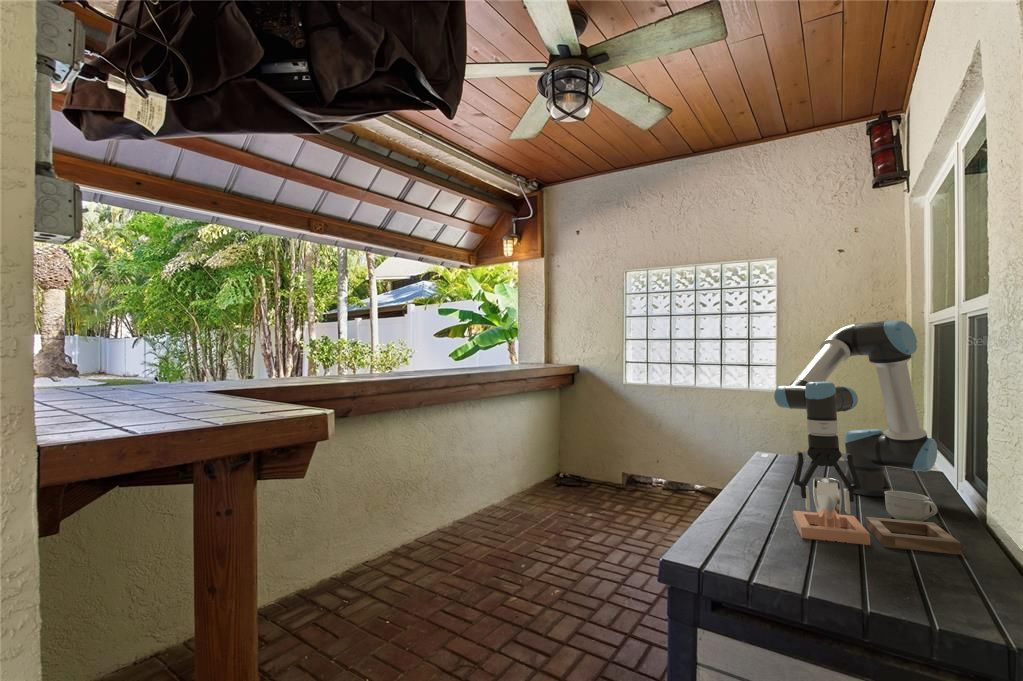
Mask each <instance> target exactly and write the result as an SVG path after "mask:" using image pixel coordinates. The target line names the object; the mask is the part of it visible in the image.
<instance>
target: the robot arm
mask: <svg viewBox="0 0 1023 681" xmlns="http://www.w3.org/2000/svg"><path fill="white" fill-rule="evenodd" d="M917 343H918V340H917V336H916V334H915V331H914V330H913V328H912V326H911V325H910V324H909V323H908V322H906V321H904V320H884V321H883V320H882V321H873V322H860V323H859V322H857V323H852V324H848V325H846V326H843V327H840V328H839V329H837V330H835V331H834V332H833V333H831V334H829V335H828V336H827V337H826V338H825V339H824V340H823V341H822V342H821V344H820V345H819V351H817V353H816V354H815V355H814V356H813V357H812V359H811V360H810V361H809V362H808V363H807V364H806V366H805V367H804V368H803V369H802V370H801V371H800V373H798V375H797V376H796V377H795V378H794V379H793V380H792V381H791V383H790V384H789V385H787V384H785V385H779V386H777V387H776V389H775V390H774V397H773V398H774V401H775V403H776V405H777V406H778V407H780V408H785V409H790V410H792V409H794V410H806V424H807V432H808V433H809V434H808V435H807V441H808V442H807V443H808V449H807V451H800V450H798V451H796V457H797V460H796V466H795V470H794V475H793V478H792V479H793V480H792V482H793V484H794V485H795V486H798V487H800V496H801V498H802V499H804V501H805V509H806V512H811V500H810V497H811V496H810V488H809V486H808V484H809V481H810V480H811V478H812V477H813V475H814V473H815V471H816V469H817V468H818V466H819V467H825V466H826V467H832V468H833V469H834V471H835V472H836V473H837V475H838V476H839V478H840V480H841V481H842V490H843V500H844V512H845V513H846V515H851V503H853V502H854V500H855V499H854V495H859V496H860V495H862V496H867V497H868V496H869V497H885V493H884V492H885V491H893V487H892V485H891V482H890V480H889V477H888V475H887V474H886V473H887V472H886V468H885V467H887V468H888V467H889V468H896V469H901V470H902V469H903V470H908V471H913V472H915V471H916V472H929V471H931V470H932V469H933V468H934V465H935V463H936V461H937V457H938V443H937V441H936V440H935V439H934V438H931V437H929V438H928V434H927V431H926V429H923V428H922V427H920V422H919V417H918V412H917V407H916V401H915V397H914V392H913V386H912V381H911V377H910V376H911V375H910V373H909V367H908V366H909V365H908V362H909V361H910V360H911V359H912V354H915V353H916V352H917V348H918V345H917ZM853 356H855V357H856V356H867V357H868V360H869V363H870V364H872V365H874V366H875V368H876V373H877V378H878V383H879V384H878V385H879V389H880V392H881V393H880V395H881V397H882V398H881V399H882V402H883V403H882V404H883V407H884V412H885V417H886V418H885V419H886V422H887V427H888V428H887V429H886V430H884V432H883V430H882V429H881V428H879V429H877V428H871V429H869V428H866V429H853V430H852V429H851V430H848V431H846V432H845V434H844V447H845V448H844V449H845V450H844V451H845V453H844V452H841V451H840V443H839V440H840V439H839V435H837V434H838V433H839V429H838V428H839V427H838V416H837V415H838V414H837V413H839V412H848V411H850V410H852V409H855V407H856V406H857V405H858V402H859V397H858V394H857V393H856V391H855V390H853V389H852V388H851V387H848V386H840V385H839V386H835V383H834V382H831V381H827V380H828V378H829V377H830V376H831V375H832V374H833V372H834V371H835V370H836V369H837V368H838V366H839V365H840V364H841V363H843V362H845V361H847V360H848V359H849V358H851V357H853ZM807 457H809V458H810V460H811V462H809V463H810V464H809V466H808V468H807V469H806V472H805V473H804V475H803V477H802V479H801V475H802V470H803V467H804V462H805V461H804V460H806V459H807ZM841 458H842V460H843V461H844V462H845V464H846V470H845V473H844V471H843V470H842V468H841V467H840V465H839V464H838V461H839V460H840V459H841Z"/></svg>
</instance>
